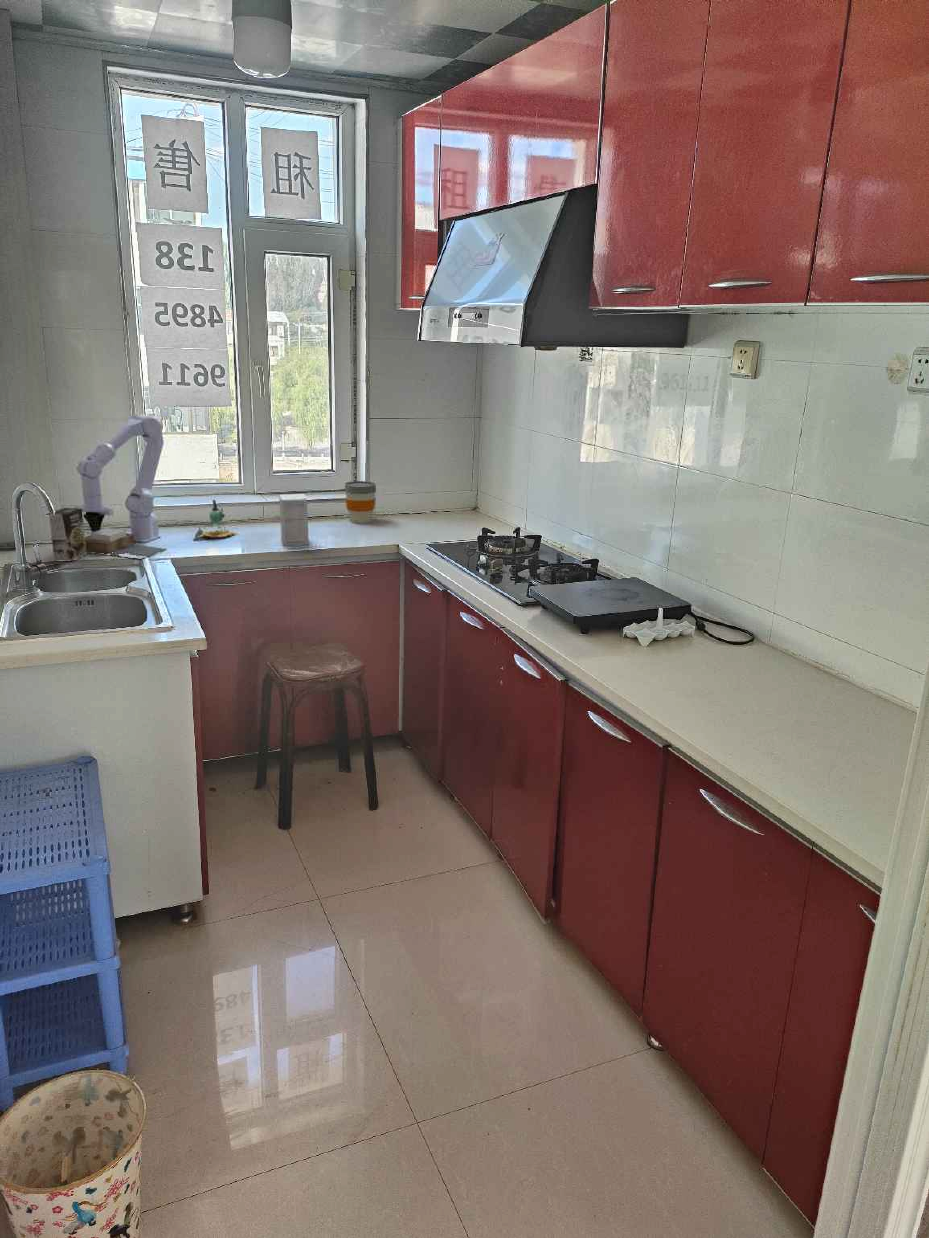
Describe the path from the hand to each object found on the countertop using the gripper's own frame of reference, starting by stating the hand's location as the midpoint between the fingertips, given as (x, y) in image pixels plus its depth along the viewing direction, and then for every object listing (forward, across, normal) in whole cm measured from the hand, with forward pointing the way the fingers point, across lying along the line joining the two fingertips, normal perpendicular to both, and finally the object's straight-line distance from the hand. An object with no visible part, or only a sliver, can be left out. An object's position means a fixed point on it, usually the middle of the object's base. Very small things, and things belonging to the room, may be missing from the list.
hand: (96, 533), depth 306 cm
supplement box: (+5, +57, +36) cm, 68 cm away
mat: (+5, +17, 0) cm, 17 cm away
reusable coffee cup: (+5, +64, +77) cm, 100 cm away
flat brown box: (+5, +4, 0) cm, 6 cm away
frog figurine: (+5, +27, +30) cm, 41 cm away
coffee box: (+5, +2, -15) cm, 16 cm away
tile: (+1, +5, 0) cm, 5 cm away
